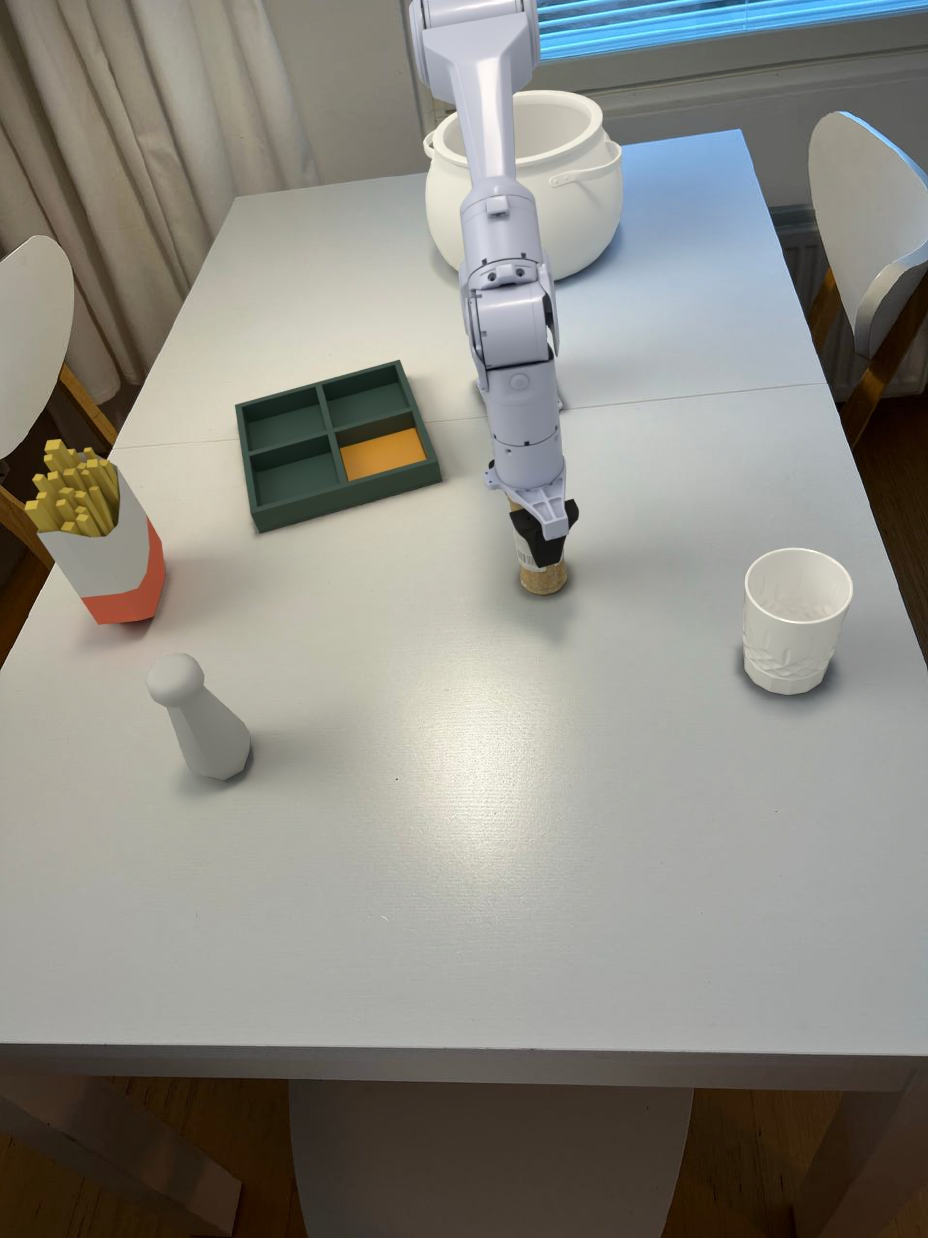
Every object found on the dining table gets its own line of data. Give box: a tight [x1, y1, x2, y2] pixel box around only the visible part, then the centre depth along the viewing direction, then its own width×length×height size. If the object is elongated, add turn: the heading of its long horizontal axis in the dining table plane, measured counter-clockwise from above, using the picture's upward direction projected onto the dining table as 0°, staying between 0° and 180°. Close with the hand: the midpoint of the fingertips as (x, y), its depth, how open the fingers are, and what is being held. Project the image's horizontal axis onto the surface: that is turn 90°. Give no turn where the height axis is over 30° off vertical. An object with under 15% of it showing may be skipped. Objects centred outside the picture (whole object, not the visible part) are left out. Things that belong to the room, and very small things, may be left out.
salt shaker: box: [144, 652, 252, 782], centre depth 77 cm, size 6×6×13 cm
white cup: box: [742, 547, 854, 696], centre depth 76 cm, size 8×8×10 cm
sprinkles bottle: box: [506, 494, 568, 596], centre depth 85 cm, size 5×5×14 cm
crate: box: [234, 359, 443, 534], centre depth 106 cm, size 20×20×3 cm
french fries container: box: [24, 438, 166, 626], centre depth 90 cm, size 5×11×18 cm, turn 0°
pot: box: [422, 89, 624, 282], centre depth 125 cm, size 29×26×16 cm
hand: (539, 542), depth 86 cm, fingers open, 5 cm apart
